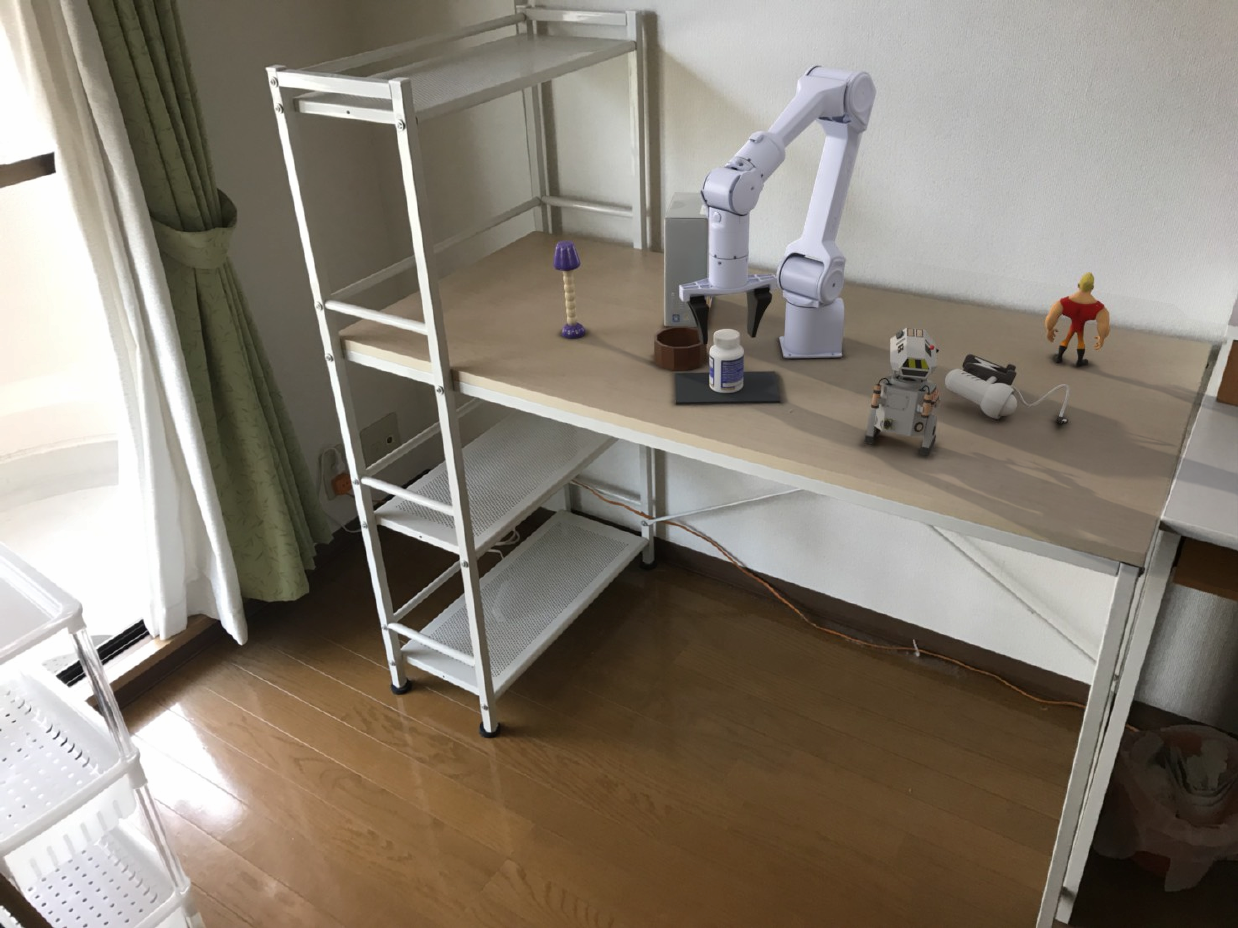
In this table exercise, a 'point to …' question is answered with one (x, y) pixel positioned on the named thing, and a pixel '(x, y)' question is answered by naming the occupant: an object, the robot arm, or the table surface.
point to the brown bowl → (679, 348)
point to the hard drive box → (684, 254)
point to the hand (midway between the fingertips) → (727, 338)
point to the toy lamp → (568, 285)
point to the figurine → (907, 391)
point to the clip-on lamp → (992, 387)
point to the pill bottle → (726, 362)
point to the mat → (699, 391)
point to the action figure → (1079, 318)
